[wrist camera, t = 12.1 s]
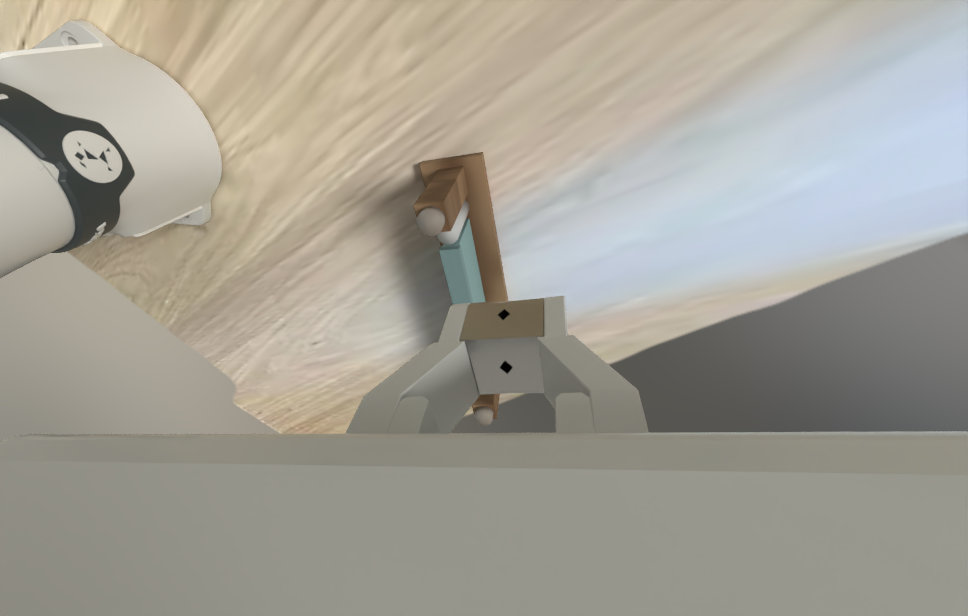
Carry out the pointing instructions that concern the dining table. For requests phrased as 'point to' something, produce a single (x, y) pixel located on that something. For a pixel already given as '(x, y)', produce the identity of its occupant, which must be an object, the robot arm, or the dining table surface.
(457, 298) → the gate
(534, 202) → the dining table surface
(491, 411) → the gate frame
